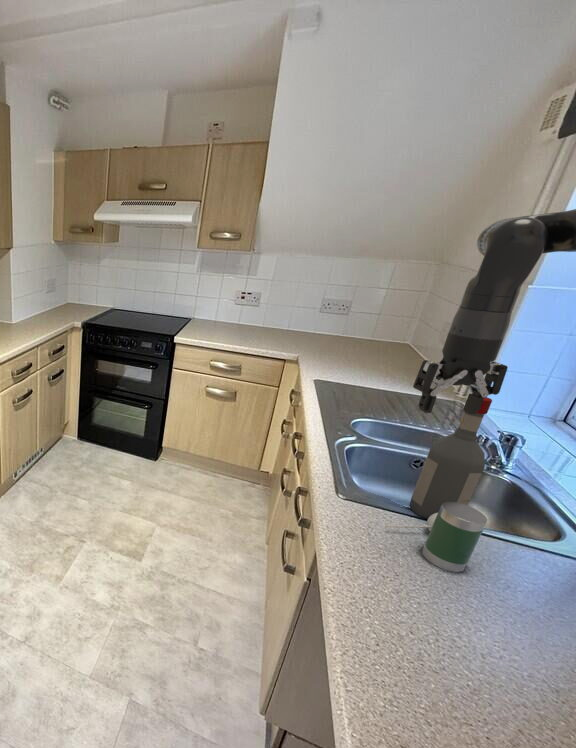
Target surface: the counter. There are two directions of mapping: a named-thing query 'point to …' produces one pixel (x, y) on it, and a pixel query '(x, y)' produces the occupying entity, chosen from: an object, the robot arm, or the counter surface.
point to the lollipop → (429, 525)
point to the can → (454, 536)
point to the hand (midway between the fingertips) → (446, 412)
